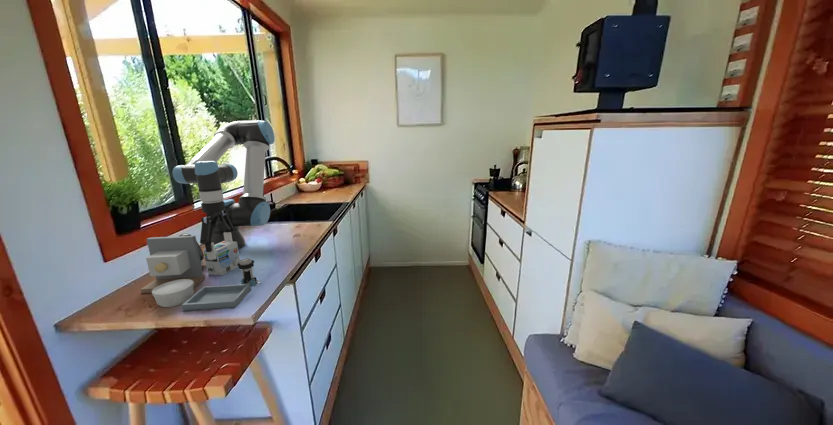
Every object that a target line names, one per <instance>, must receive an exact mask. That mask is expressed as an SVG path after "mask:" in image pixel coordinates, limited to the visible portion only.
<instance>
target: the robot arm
mask: <svg viewBox="0 0 833 425" xmlns="http://www.w3.org/2000/svg"><path fill="white" fill-rule="evenodd" d="M274 142H275V133H274V130H273V127H272V125H271V124H270V123H269V122H268V121H266V120H260V119H259V120H237V121H236V120H235V121H232V122H229V123H227V124H225V125H223V126H222V127H220V128H219V129H218V130H217V131H216V132H214V134H213V138H212V139H211V140H210V141H209V142H208V143H207V144H206V145H205V146H204V147H202V149H201V150H200V151H198V152H197V154H195V155H194V156H193V157H192V158H191V159H190V160H189V161H188V162H187V163H186V164H180V165H176V166H174V168H173V169H172V178H173V179H174V181H175V182H176V183H179V184H185V185H186V184H187V185H189V184H190V185H191V184H197V187H198V193H199V194H198V195H199V198H200V202H201V204H200V205H201V210H202V212H203V213H205V214H206V216H205V217H204V216H202V217H201V229H200V238H199V239H200V240H199V243H200V244H201V245H204V247H205V249H206V253H207V258H208V260H212V259H216V254H215V249H214V245H215V244H218V243H220V242H222V241H232V242H237V245H238V250H239V249H242V248H243V247H245V246H246V240H245V238H244V236H243V234H242V232H241V231H240V228H243V227H263V226H265V225H266V224H267V223H268V221H269V219H270V215H271V207H270V204H269V203H268V202H267V199H266V198H265V197H264V185H265V183H264V182H265V171H266V170H265V169H266V168H265V167H266V166H265V165H266V153H267V151H268V150H270V145H273V144H274ZM239 145H243V147H244V148H245V149H246V151H245V152H246V153H245V154H246V155H245V164H244V166H245V167H244V178H243V192H242V195H241V196H240V197H239V198H238V202H236V201H235V199H232V198H229V199H224V193H223V187H222V184H225V183H231V182H232V181H235V180H236V179H237V178H238V170H237V168H236V167H235V165H233V164H231V163H222V164H219V163H218V161H219V160H220V159H221V158H222V157H223V156H224V155H225V154H226V153H227V151H228V150H230V149H233V148H235V146H239ZM200 244H199V245H200Z"/></svg>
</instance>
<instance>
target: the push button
mask: <svg viewBox="0 0 833 425" xmlns="http://www.w3.org/2000/svg"><path fill="white" fill-rule="evenodd" d="M254 264H255V260H252V259H251V258H249V257H248V258H242V259H240V262H239V263H238V264H237V265H238V267H237V268H238V269H240V270H241V280H240V283H241V284H250V286H251V288H252V287H255V286H256V285H260V284H262V282H261V280H258V279H257V277H256V276H255V275H254V269H253V267H255V265H254Z"/></svg>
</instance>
